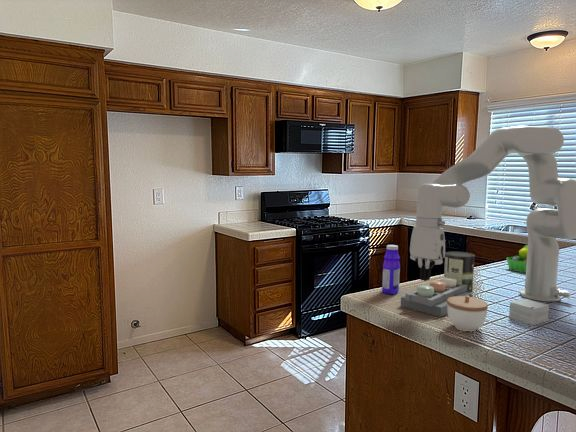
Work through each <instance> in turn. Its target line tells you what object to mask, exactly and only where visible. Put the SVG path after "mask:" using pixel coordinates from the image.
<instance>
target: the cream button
mask: <svg viewBox="0 0 576 432" xmlns="http://www.w3.org/2000/svg"><path fill="white" fill-rule="evenodd" d="M440 281H441V282H444V283H446V287H448V288H455V287H456V281H457V279H455V278H452V277H444V276H442V277H441V278H440Z"/></svg>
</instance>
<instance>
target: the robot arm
mask: <svg viewBox="0 0 576 432" xmlns="http://www.w3.org/2000/svg"><path fill="white" fill-rule="evenodd" d="M564 142H565V138H564V134H563V133H562V131H561V130H560V129H559V128H556V127H553V126H552V127H551V126H532V125H531V126H529V125H517V126H516V125H515V126H509V127H501V128H497V129H495V130H493V131H492V132H491V133H490V134H489V135H488V136H487V137H486V138H485V139H484V140H483V141H482V142H481V144H480V145H478V147H476V149H475V150H473V151H472V153H471V154H470V155H469V156H468V157H466V158H464V159H461V160H460V161H459V162H457V163H456V164H454V165H451V166H450V167H449V168H447V169H445V171H443V172H442V173H441V174H440V175H439V176H438V177H437V178H436V179H435V180H434V181H433V182H432V183H421V184H420V185H419V186H418V188H417V196H416V197H417V200H416V215H415V217H416V219H415V225H414V226H413V229H412V232H411V237H410V244H409V245H410V246H409V253H410V255H409V258H410V260H412V261H415V262H416V263H417V265H418V268H419V277H420V278H419V280H420V281H422V282H423V281H424V282H427V281H429V280H430V279H431V275H432V268H434V266H435V265H442V264H444V261H443V259H445V253H446V238H445V237H446V236H445V231H444V228H443V227H442V226H445V225H446V221H445V220H443V218H442V212H443V207H448V208H453V209H454V208H455V209H458V208H462V207H464V206H466V204H467V203H469V201H470V197H471V193H470V191H469V190H468V188H467V187H466V186H465V185H463V184H465V183H468V182H470V181H473V180H474V181H475V180H478V179H480V178H483V177H485V176H488V175H490V174H491V173H492V172H493V171H494V170H495V169H496V168H497V167H498V166H499V165H500V164H501V162H503V161H504V160H505V158H506V157H507V156H509V155H510V154H511V155H512V154H517V155H519V156H520V157H521V158H523V159H524V161H525V163H526V164H527V168H528V179H529V180H528V182H529V196H530V200H531V202H532V203H534V204H535V205H540V206H548V207H549V206H550V207H557V209H556V208H555V209H554V208H544V207H542V208H541V207H539V208H535V209H532V211H530V212H529V213H528V215H527V217H526V222H525V223H526V225H525V226H526V231H527V240H528V241H527V245H528V252H527V265H526V273H525V281H524V288H522V289H520V290H519V296H521V297H523V298H525V299H528V300H532V301H536V302H544V303H545V302H546V303H547V302H549V303H551V302H559V301H561V297H563V298H567V299H569V298H570V297H571V292H569V291H568V290H562V289H561V288H560V286H559V285H557V279H558V268H559V258H560V257H559V256H560V245H559V243H558V241H557V239H561V240H568V241H569V240H570V241H571V240H575V239H576V180H575V179H573V178H567V177H559V171H558V164H557V160H556V159H557V158H556V157H555V155H554V154H556V153H558V152H559V151H560V150H561V149H562V147H563V145H564V144H565V143H564Z"/></svg>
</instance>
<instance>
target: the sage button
mask: <svg viewBox="0 0 576 432" xmlns="http://www.w3.org/2000/svg"><path fill="white" fill-rule="evenodd" d="M416 290H417V295H420V296H424V297H429V298H431V297H433V296H434V288H433V287H431V286H428V285H418V286H417V289H416Z"/></svg>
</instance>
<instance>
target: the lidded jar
mask: <svg viewBox="0 0 576 432" xmlns="http://www.w3.org/2000/svg"><path fill="white" fill-rule="evenodd" d="M488 307H489V305H488V303H487V302H486V301H485V300H482V299H480V298H477V297H473V296H472V297H469V296H453V297H449V298H448V299H447V313H448V314H447V317H448V320H449V322H450V323H451V324H452V325H453V327H454V326H455V327H456V328H457V329H456V328H455V327H454V328H455V329H456V330H458V329H460V330H459V331H461V330H464V331H463V332H466V331H474V332H476V330H477V331H478V329H480V328H481V327H482V326H483V325H484V323H485V321H486V318H487V313H488Z"/></svg>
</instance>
